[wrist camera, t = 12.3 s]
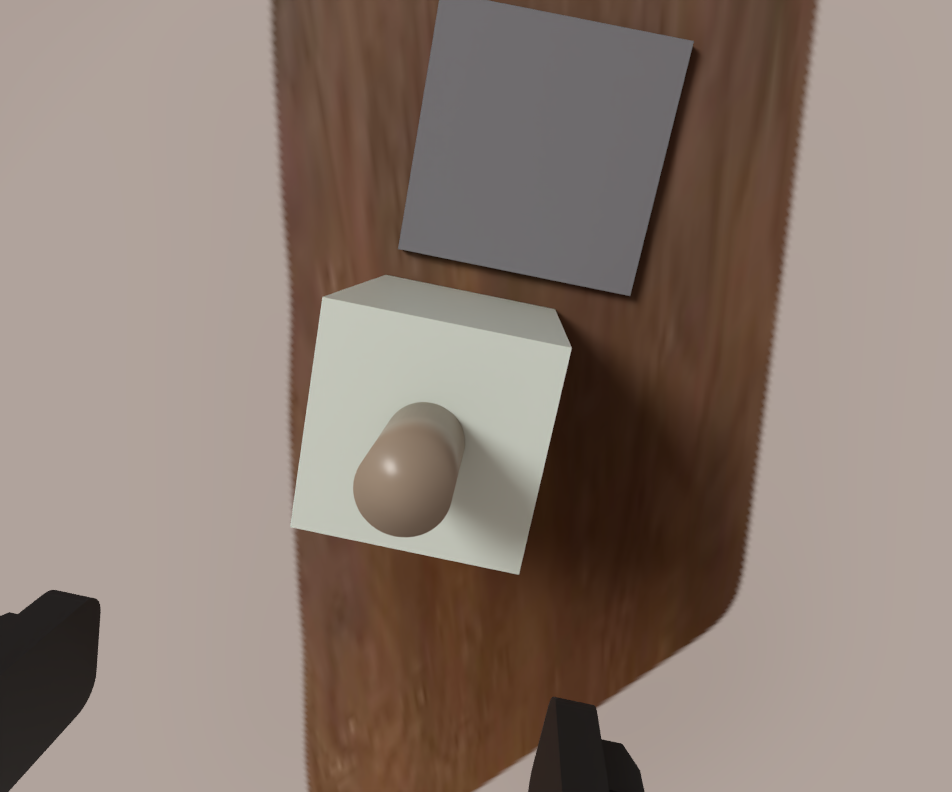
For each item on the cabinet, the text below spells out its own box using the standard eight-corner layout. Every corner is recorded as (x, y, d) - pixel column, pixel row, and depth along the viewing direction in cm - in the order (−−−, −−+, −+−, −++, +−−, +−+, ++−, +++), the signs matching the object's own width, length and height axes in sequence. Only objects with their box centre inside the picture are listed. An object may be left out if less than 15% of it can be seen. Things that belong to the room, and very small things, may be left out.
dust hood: (385, 274, 36) (274, 313, 20) (555, 309, 36) (584, 377, 20) (359, 436, 38) (239, 593, 22) (519, 469, 38) (518, 651, 22)
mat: (442, -5, 33) (440, -9, 32) (690, 44, 33) (693, 41, 32) (400, 248, 36) (398, 248, 35) (628, 294, 36) (630, 295, 35)
